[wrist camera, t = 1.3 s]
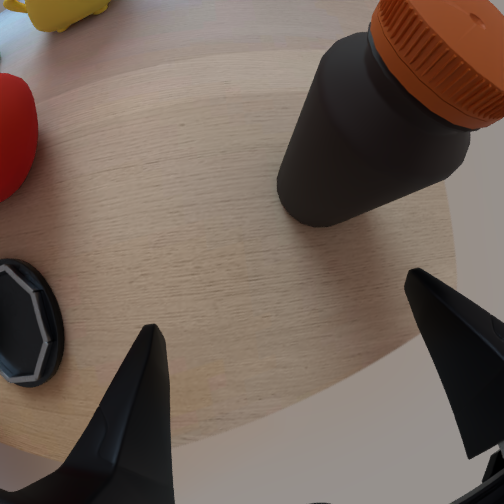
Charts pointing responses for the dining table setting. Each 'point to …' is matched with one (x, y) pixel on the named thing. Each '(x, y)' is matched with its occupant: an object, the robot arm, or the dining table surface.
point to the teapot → (56, 12)
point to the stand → (28, 325)
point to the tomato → (16, 133)
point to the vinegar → (394, 108)
